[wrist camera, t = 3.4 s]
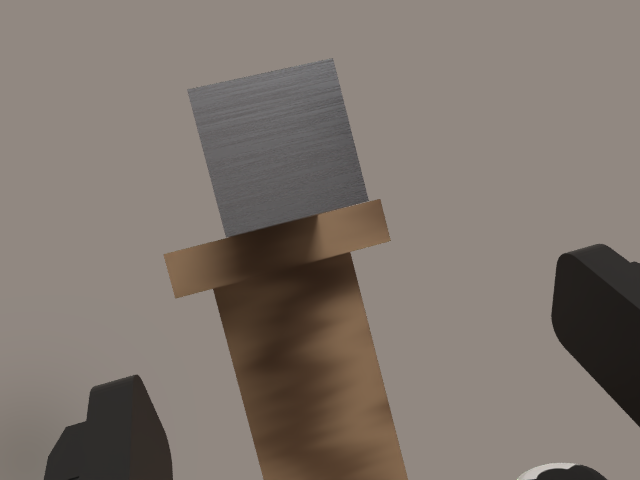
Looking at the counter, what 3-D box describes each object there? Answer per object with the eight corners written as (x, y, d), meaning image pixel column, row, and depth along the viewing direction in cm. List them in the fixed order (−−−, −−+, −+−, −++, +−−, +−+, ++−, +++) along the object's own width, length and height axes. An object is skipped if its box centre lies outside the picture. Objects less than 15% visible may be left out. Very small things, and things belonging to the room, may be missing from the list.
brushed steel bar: (289, 222, 39) (275, 167, 39) (368, 201, 15) (332, 58, 15) (233, 236, 39) (218, 180, 38) (226, 237, 15) (187, 89, 15)
